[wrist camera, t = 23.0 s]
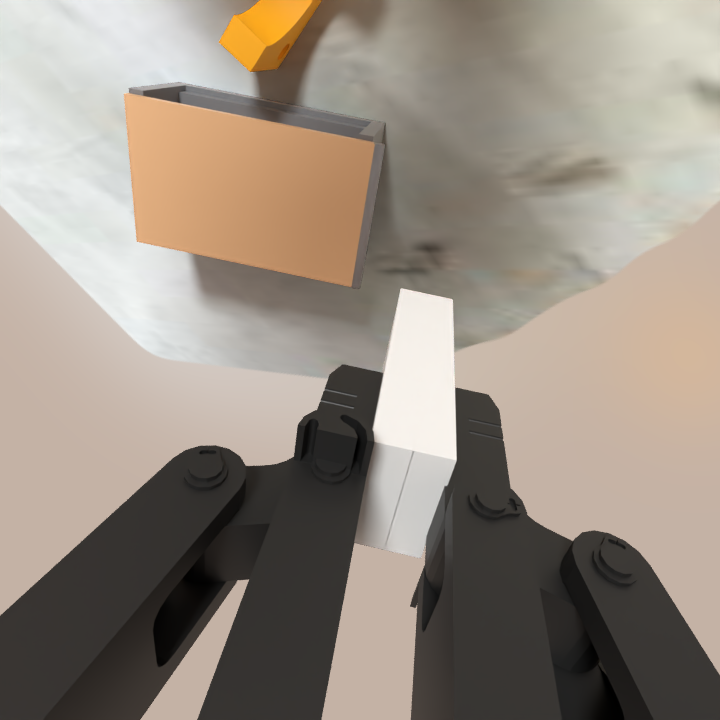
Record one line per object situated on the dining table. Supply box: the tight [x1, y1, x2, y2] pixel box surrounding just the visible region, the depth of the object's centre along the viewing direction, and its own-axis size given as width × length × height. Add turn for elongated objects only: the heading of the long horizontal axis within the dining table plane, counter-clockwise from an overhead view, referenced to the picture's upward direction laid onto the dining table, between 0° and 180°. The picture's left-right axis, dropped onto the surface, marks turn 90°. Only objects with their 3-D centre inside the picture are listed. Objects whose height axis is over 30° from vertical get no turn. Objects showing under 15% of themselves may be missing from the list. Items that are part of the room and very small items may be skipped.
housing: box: [129, 82, 385, 143], centre depth 40 cm, size 11×17×8 cm, turn 81°
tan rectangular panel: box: [124, 93, 385, 289], centre depth 36 cm, size 10×18×1 cm, turn 81°
